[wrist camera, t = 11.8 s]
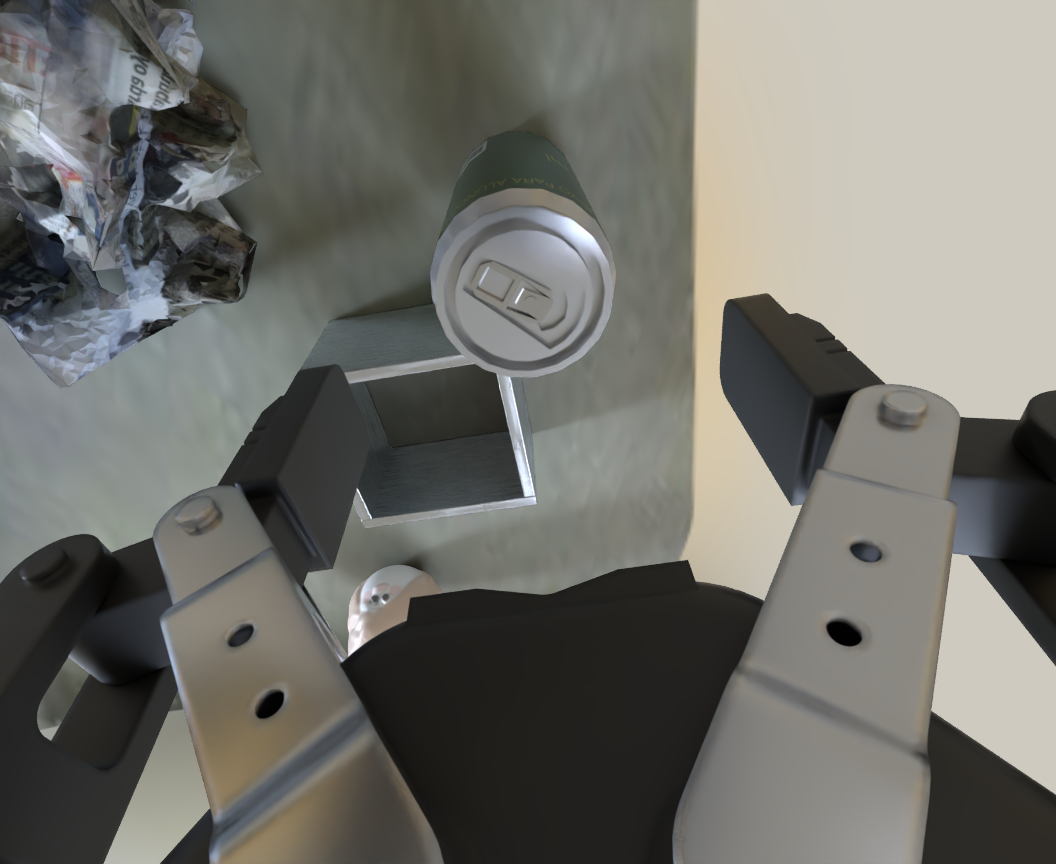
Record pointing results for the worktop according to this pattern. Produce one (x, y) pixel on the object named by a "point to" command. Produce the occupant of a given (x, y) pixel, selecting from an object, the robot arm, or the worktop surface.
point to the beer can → (521, 260)
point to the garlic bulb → (385, 601)
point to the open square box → (437, 467)
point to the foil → (112, 178)
